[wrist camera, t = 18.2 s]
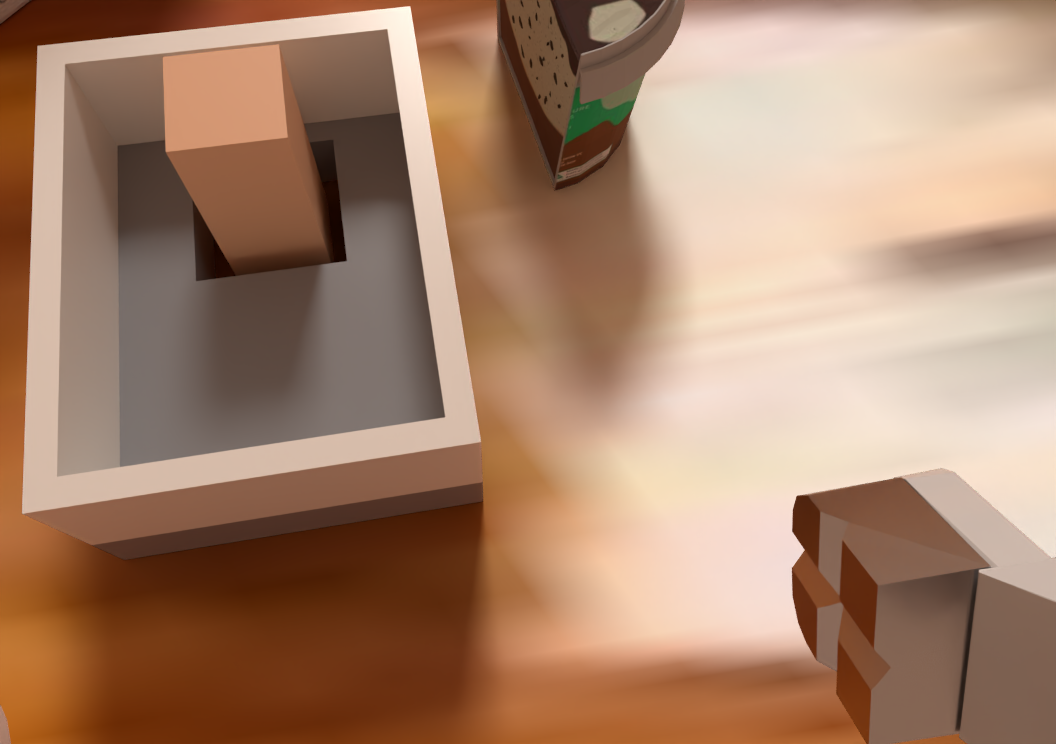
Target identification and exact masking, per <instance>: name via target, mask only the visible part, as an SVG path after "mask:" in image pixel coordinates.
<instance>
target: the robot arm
mask: <svg viewBox="0 0 1056 744" xmlns="http://www.w3.org/2000/svg"><path fill="white" fill-rule="evenodd" d="M792 532H793V533H794V535H795V536H796V538H797V539H798V541H799V542H800V543H801V545H802V546H803V548H804V549H805V551H804V552H803V554H802V555H801V556H800V558H799V559H798V561H797V562H796V563H795V565H794V566H793V567H792V590H793V600H794V605H795V609H796V614H797V619H798V623H799V626H800V628H801V631H802V633H803V636H804V638H805V641H806V643H807V645H808V646H809V648H810V650H811V652H812V653H813V655H814V657H815V659H816V660H817V661H818V662H820V663H822V664H824V665H826V666H828V667H829V668H831V669H833V670H835V671H837V687H836V694H837V696H838V697H839V699H840V701H841V702H842V704H843V706H844V707H845V709H846V711H847V712H848V714H849V716H850V717H851V719H852V720H853V722H854V724H855V725H856V727H857V729H858V730H859V732H860V734H861V735H862V737H863V739H864V740H865V742H866V744H892V743H899V742H906V741H912V740H919V739H926V738H932V737H939V736H946V735H952V734H959V733H960V735H959V738H960V739H961V740H963V741H964V742H966V743H968V744H1056V557H1055V558H1051V557H1049V556H1048V555H1047V554H1046V553H1045V552H1044V551H1043V550H1042V549H1040V548H1039V547H1038V546H1037V545H1036V544H1035V543H1034V542H1033V541H1031V540H1030V539H1029V538H1028V537H1027V536H1026V535H1025V534H1024V533H1022V532H1021V531H1020V530H1019V529H1018V528H1017V527H1016V526H1015V525H1013V524H1012V523H1011V522H1010V521H1009V520H1008V519H1007V518H1006V517H1004V516H1003V515H1002V514H1001V513H1000V512H999V511H998V510H996V509H995V508H994V507H993V506H992V505H991V504H990V503H989V502H987V501H986V500H985V499H984V498H983V497H982V496H981V495H980V494H978V493H977V492H976V491H975V490H974V489H973V488H972V487H971V486H969V485H968V484H967V483H966V482H965V481H964V480H963V479H962V478H960V477H959V476H958V475H957V474H956V473H955V472H953V471H949V470H946V469H943V468H940V469H935V470H930V471H925V472H920V473H915V474H910V475H905V476H900V477H894V478H893V479H889V480H883V481H878V482H872V483H866V484H861V485H855V486H849V487H844V488H838V489H833V490H827V491H821V492H816V493H810V494H805V495H799V496H797V497H796V501H795V504H794V508H793V525H792ZM0 744H11V743H10V736H9V730H8V724H7V719H6V717H5V715H4V712H3V710H2V708H1V706H0Z"/></svg>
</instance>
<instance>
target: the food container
mask: <svg viewBox="0 0 1056 744" xmlns="http://www.w3.org/2000/svg"><path fill="white" fill-rule="evenodd" d="M496 1H497V36H498V40H499V43H500V46H501V48H502V51H503V54H504V56H505V59H506V62H507V64H508V67H509V70H510V72H511V75H512V78H513V80H514V83H515V86H516V88H517V91H518V94H519V96H520V99H521V102H522V105H523V107H524V110H525V113H526V115H527V118H528V121H529V123H530V126H531V129H532V131H533V134H534V137H535V139H536V142H537V145H538V147H539V150H540V153H541V155H542V158H543V161H544V164H545V166H546V169H547V172H548V174H549V177H550V180H551V182H552V185H553V188H554V190H558V189H561V188H564V187H567V186H570V185H573V184H576V183H578V182H580V181H581V180H583V179H584V178H586V177H588V176H589V175H591V174H592V173H594V172H595V171H597V170H598V169H600V168H601V167H603V165H604V164H605V163H606V162H607V160H608V159H609V158H610V156H611V155H612V154H613V153H614V151H615V150H616V149H617V147H618V146H619V145H620V142H621V139H622V136H623V134H624V131H625V128H626V125H627V123H628V120H629V117H630V114H631V112H632V109H633V106H634V103H635V101H636V98H637V95H638V92H639V90H640V87H641V84H642V81H643V78H644V76H645V73H646V72H647V71H648V70H649V69H650V68H651V67H652V66H653V65H654V64H656V63H657V62H658V61H659V60H660V58H661V57H662V56H663V54H664V53H665V52H666V50H667V49H668V47H669V46H670V45H671V43H672V41H673V39H674V37H675V35H676V33H677V31H678V29H679V27H680V23H681V19H682V15H683V11H684V3H685V0H496Z"/></svg>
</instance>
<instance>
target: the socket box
mask: <svg viewBox="0 0 1056 744" xmlns="http://www.w3.org/2000/svg"><path fill="white" fill-rule="evenodd" d="M277 44H279V46H280V49H281V52H282V55H283V59H284V62H285V65H286V68H287V71H288V75H289V78H290V81H291V84H292V88H293V91H294V94H295V97H296V100H297V104H298V107H299V110H300V113H301V116H302V120H303V123H304V126H305V129H306V133H307V136H308V139H309V142H310V145H311V149H312V152H313V155H314V158H315V162H316V165H317V168H318V171H319V174H320V178H321V181H322V182H328V181H336V180H338V187H339V196H340V205H341V213H342V222H343V231H344V240H345V248H346V257H347V261H344V262H336V263H329V264H322V265H314V266H307V267H299V268H292V269H284V270H277V271H269V272H262V273H254V274H247V275H239V276H232V277H224V278H217V279H216V274H215V255H214V236H213V235H212V233H211V231H210V229H209V228H208V226H207V224H206V222H205V221H204V219H203V217H202V215H201V213H200V212H199V210H198V208H197V206H196V205H195V203H194V201H193V199H192V198H191V196H190V194H189V192H188V191H187V189H186V187H185V185H184V183H183V182H182V180H181V178H180V176H179V175H178V173H177V171H176V169H175V168H174V166H173V164H172V162H171V161H170V159H169V157H168V155H167V153H166V146H165V114H164V83H163V57H167V56H176V55H185V54H194V53H203V52H212V51H222V50H231V49H240V48H249V47H258V46H268V45H277ZM482 501H483V482H482V454H481V439H480V433H479V426H478V420H477V414H476V408H475V402H474V396H473V390H472V383H471V377H470V371H469V365H468V359H467V353H466V347H465V340H464V334H463V328H462V322H461V316H460V310H459V304H458V298H457V291H456V285H455V279H454V273H453V267H452V261H451V255H450V248H449V242H448V236H447V230H446V224H445V218H444V212H443V206H442V199H441V193H440V187H439V181H438V175H437V169H436V163H435V156H434V150H433V144H432V138H431V132H430V126H429V120H428V113H427V107H426V101H425V95H424V89H423V83H422V77H421V71H420V64H419V58H418V52H417V46H416V40H415V34H414V28H413V21H412V15H411V9H410V6H409V7H399V8H390V9H381V10H371V11H362V12H352V13H343V14H334V15H324V16H315V17H305V18H296V19H286V20H277V21H268V22H258V23H249V24H239V25H230V26H220V27H211V28H202V29H192V30H183V31H173V32H164V33H154V34H145V35H136V36H126V37H117V38H107V39H98V40H89V41H79V42H70V43H60V44H51V45H41V46H38V48H37V78H36V108H35V139H34V169H33V199H32V229H31V259H30V289H29V320H28V350H27V380H26V410H25V440H24V470H23V500H22V514H24V515H26V516H28V517H30V518H32V519H35V520H37V521H39V522H41V523H44V524H46V525H48V526H50V527H52V528H55V529H57V530H59V531H61V532H63V533H66V534H68V535H70V536H72V537H74V538H77V539H79V540H81V541H83V542H85V543H88V544H90V545H92V546H94V547H97V548H99V549H101V550H103V551H105V552H108V553H110V554H112V555H114V556H116V557H119V558H121V559H123V560H127V559H133V558H139V557H145V556H151V555H158V554H164V553H170V552H176V551H182V550H188V549H194V548H201V547H207V546H213V545H219V544H225V543H231V542H237V541H243V540H250V539H256V538H262V537H268V536H274V535H280V534H286V533H292V532H299V531H305V530H311V529H317V528H323V527H329V526H335V525H341V524H348V523H354V522H360V521H366V520H372V519H378V518H384V517H391V516H397V515H403V514H409V513H415V512H421V511H427V510H433V509H440V508H446V507H452V506H458V505H464V504H470V503H476V502H482Z"/></svg>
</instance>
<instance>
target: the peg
mask: <svg viewBox="0 0 1056 744" xmlns="http://www.w3.org/2000/svg"><path fill="white" fill-rule="evenodd" d="M163 83H164V114H165V146H166V153H167V155H168V157H169V159H170V161H171V162H172V164H173V166H174V168H175V169H176V171H177V173H178V175H179V176H180V178H181V180H182V182H183V183H184V185H185V187H186V189H187V191H188V192H189V194H190V196H191V198H192V199H193V201H194V203H195V205H196V206H197V208H198V210H199V212H200V213H201V215H202V217H203V219H204V221H205V222H206V224H207V226H208V228H209V229H210V231H211V233H212V235H213V236H214V238H215V240H216V242H217V243H218V245H219V247H220V249H221V251H222V252H223V254H224V256H225V258H226V259H227V261H228V263H229V265H230V266H231V268H232V270H233V272H234V273H235V275H236V276H239V275H247V274H254V273H262V272H269V271H277V270H284V269H292V268H299V267H307V266H314V265H322V264H329V263H334V254H333V245H332V236H331V227H330V218H329V208H328V200H327V197H326V194H325V190H324V187H323V184H322V181H321V178H320V174H319V171H318V168H317V165H316V162H315V158H314V155H313V152H312V149H311V145H310V142H309V139H308V136H307V133H306V129H305V126H304V123H303V120H302V116H301V113H300V110H299V107H298V104H297V100H296V97H295V94H294V91H293V88H292V84H291V81H290V78H289V75H288V71H287V68H286V65H285V62H284V59H283V55H282V52H281V49H280V46H279V44H277V45H268V46H258V47H249V48H240V49H231V50H222V51H212V52H203V53H194V54H185V55H176V56H167V57H163Z"/></svg>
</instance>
